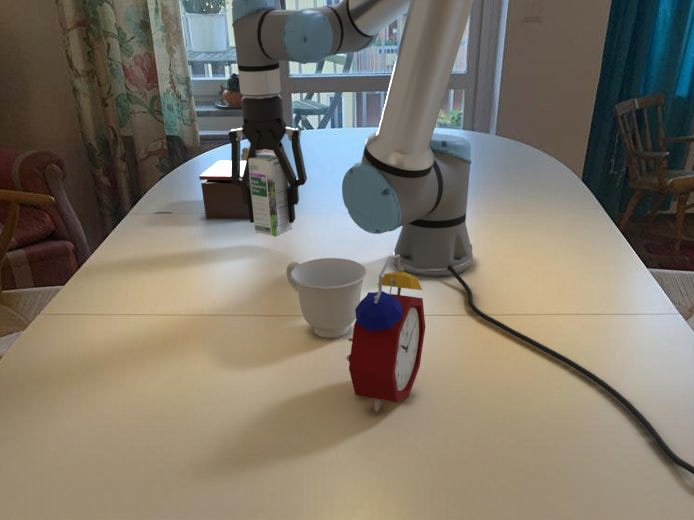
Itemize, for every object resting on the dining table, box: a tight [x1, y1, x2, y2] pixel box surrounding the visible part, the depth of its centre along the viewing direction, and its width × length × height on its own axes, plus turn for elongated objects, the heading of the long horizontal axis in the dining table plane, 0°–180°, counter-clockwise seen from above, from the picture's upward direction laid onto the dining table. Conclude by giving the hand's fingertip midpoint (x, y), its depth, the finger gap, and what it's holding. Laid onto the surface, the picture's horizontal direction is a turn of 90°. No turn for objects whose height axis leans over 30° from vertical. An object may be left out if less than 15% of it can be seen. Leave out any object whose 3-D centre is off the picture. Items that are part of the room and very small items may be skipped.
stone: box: [240, 146, 275, 161], centre depth 205 cm, size 8×10×4 cm
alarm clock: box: [342, 254, 426, 413], centre depth 99 cm, size 15×9×20 cm, turn 158°
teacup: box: [285, 257, 368, 339], centre depth 119 cm, size 12×15×10 cm
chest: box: [200, 180, 250, 220], centre depth 171 cm, size 16×13×8 cm
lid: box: [198, 160, 247, 181], centre depth 168 cm, size 16×13×1 cm
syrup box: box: [248, 153, 293, 237], centre depth 146 cm, size 6×6×14 cm
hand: (272, 220), depth 149 cm, fingers closed on syrup box, 7 cm apart
